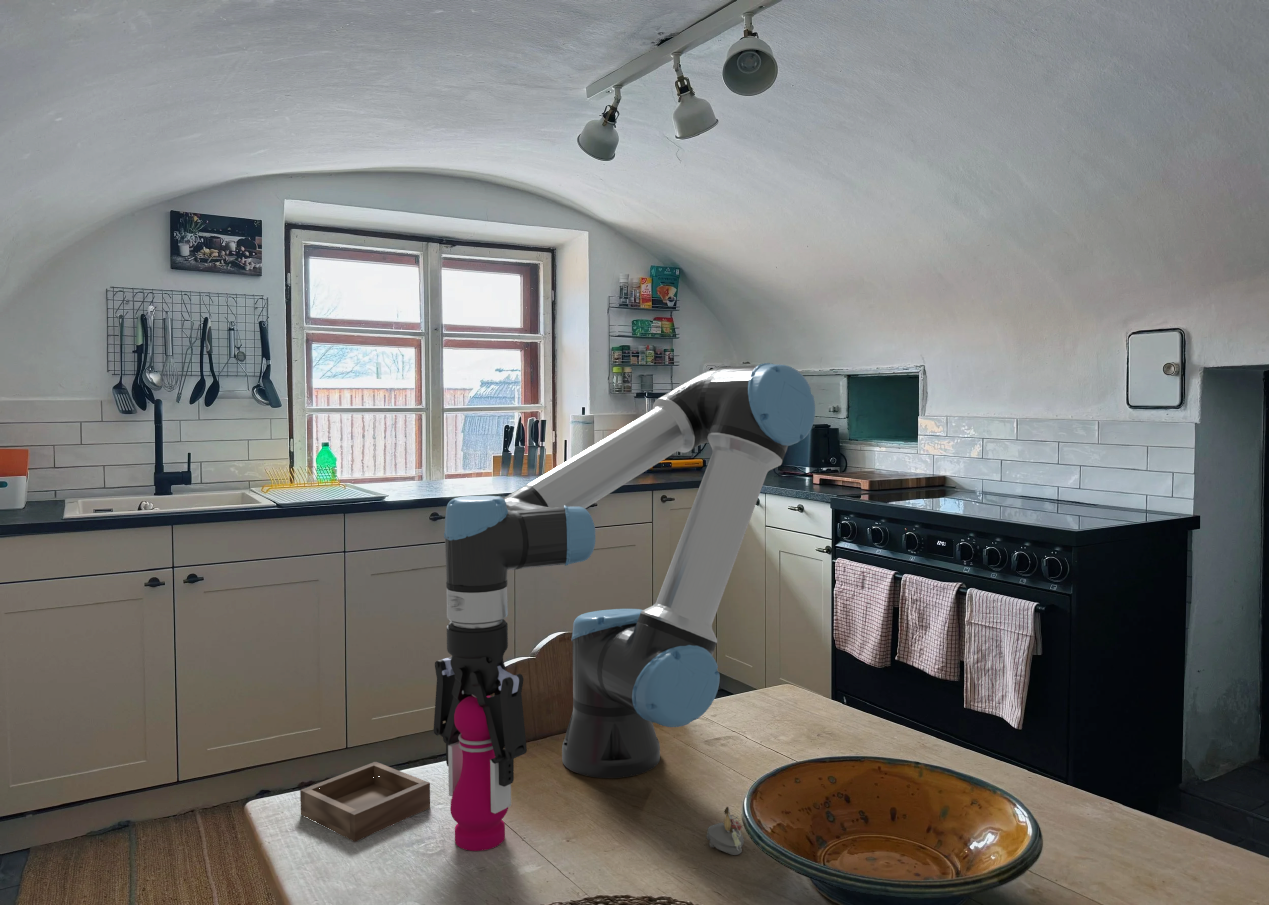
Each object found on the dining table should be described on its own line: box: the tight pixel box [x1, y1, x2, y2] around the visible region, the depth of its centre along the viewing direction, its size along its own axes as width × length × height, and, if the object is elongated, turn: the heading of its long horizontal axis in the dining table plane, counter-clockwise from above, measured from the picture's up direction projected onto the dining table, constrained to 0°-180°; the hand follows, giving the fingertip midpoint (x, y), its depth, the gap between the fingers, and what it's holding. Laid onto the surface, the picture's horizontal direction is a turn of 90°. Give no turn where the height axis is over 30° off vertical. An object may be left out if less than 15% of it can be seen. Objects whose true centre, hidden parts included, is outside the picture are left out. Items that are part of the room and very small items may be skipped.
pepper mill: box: [449, 694, 509, 852], centre depth 113 cm, size 7×7×20 cm
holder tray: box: [299, 761, 431, 843], centre depth 122 cm, size 12×12×4 cm
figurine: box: [705, 806, 745, 856], centre depth 111 cm, size 5×4×6 cm
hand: (479, 800), depth 114 cm, fingers closed on pepper mill, 7 cm apart
